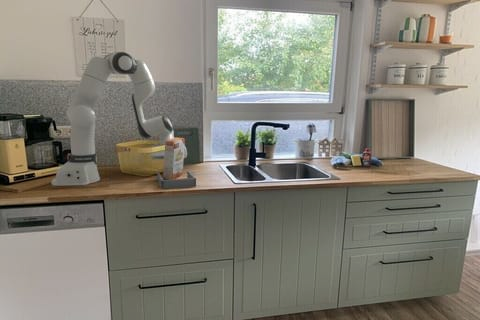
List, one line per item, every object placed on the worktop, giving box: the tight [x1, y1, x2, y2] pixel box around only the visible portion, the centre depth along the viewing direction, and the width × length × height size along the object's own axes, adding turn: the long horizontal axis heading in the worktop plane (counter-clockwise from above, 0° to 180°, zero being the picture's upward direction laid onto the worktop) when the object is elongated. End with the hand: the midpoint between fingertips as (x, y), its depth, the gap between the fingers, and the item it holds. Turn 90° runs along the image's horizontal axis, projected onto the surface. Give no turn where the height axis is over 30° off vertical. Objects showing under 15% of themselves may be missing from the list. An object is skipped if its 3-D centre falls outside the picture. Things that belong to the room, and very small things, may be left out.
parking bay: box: [156, 170, 197, 190], centre depth 176 cm, size 17×17×4 cm
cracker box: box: [162, 137, 186, 180], centre depth 185 cm, size 14×6×21 cm, turn 166°
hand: (170, 164), depth 192 cm, fingers closed
